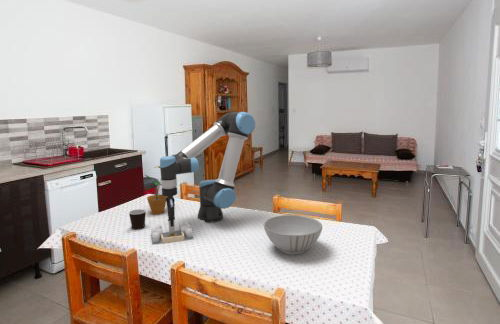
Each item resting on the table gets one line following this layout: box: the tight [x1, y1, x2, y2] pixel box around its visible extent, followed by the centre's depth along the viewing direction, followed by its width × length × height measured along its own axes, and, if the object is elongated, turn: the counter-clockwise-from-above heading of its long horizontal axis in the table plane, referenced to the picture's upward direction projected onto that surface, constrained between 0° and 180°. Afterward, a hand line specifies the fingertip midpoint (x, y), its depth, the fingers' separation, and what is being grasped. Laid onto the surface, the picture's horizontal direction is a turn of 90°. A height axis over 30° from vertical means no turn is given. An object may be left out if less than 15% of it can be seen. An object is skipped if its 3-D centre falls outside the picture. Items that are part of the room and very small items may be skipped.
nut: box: [168, 233, 178, 237], centre depth 170 cm, size 4×5×2 cm
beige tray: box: [150, 222, 195, 246], centre depth 172 cm, size 20×14×6 cm
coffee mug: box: [128, 208, 147, 231], centre depth 186 cm, size 12×9×10 cm
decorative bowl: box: [263, 214, 323, 255], centre depth 158 cm, size 27×27×12 cm
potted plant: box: [145, 165, 167, 215], centre depth 211 cm, size 18×19×30 cm
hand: (172, 231), depth 175 cm, fingers closed
